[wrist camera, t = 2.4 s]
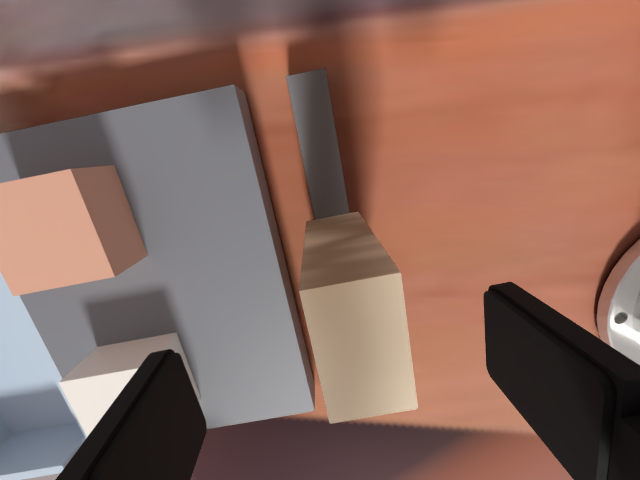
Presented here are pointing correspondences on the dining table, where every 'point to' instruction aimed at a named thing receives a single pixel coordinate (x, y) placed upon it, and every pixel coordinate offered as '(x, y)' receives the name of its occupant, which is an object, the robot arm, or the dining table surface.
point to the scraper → (347, 279)
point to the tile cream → (112, 375)
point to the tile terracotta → (66, 229)
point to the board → (181, 251)
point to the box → (31, 399)
